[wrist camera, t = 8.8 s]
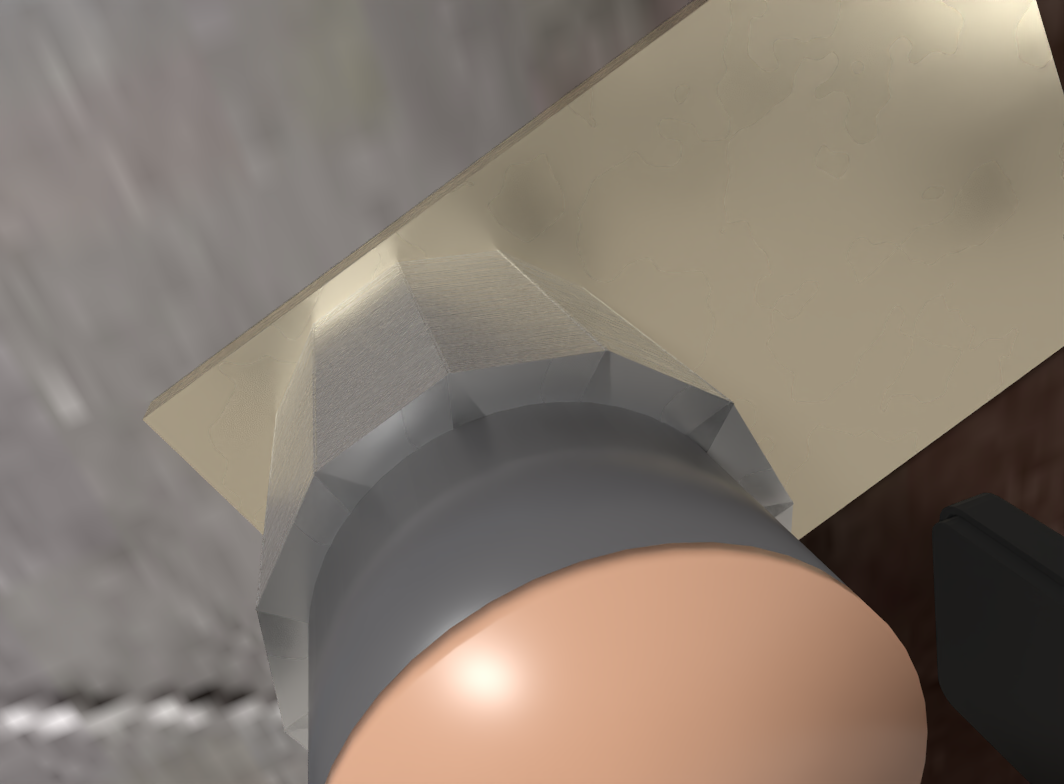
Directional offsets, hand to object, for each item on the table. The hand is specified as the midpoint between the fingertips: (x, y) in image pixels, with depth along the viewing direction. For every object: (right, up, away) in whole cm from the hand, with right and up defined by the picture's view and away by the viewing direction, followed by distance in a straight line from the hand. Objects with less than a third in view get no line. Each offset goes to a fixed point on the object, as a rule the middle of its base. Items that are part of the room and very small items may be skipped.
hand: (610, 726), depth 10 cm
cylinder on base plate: (+3, +5, +10) cm, 12 cm away
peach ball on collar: (-1, +2, +5) cm, 5 cm away
